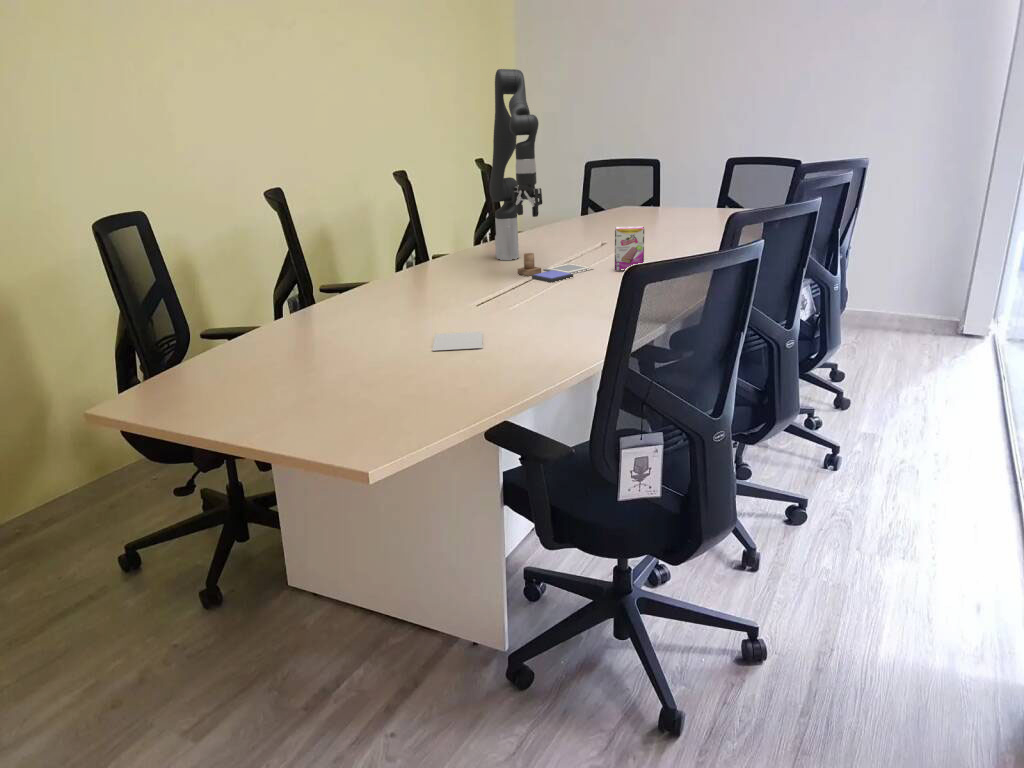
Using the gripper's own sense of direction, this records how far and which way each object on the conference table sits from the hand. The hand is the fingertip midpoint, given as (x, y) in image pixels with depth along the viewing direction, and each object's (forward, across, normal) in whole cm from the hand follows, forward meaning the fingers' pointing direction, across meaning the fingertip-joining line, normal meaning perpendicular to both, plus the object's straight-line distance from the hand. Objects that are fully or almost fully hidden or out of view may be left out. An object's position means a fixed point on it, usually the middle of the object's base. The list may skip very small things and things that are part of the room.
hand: (527, 215), depth 313 cm
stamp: (+22, 0, 0) cm, 23 cm away
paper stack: (+23, +58, -72) cm, 96 cm away
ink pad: (+22, +12, +1) cm, 25 cm away
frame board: (+22, +6, +15) cm, 27 cm away
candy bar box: (+23, +25, +29) cm, 44 cm away
